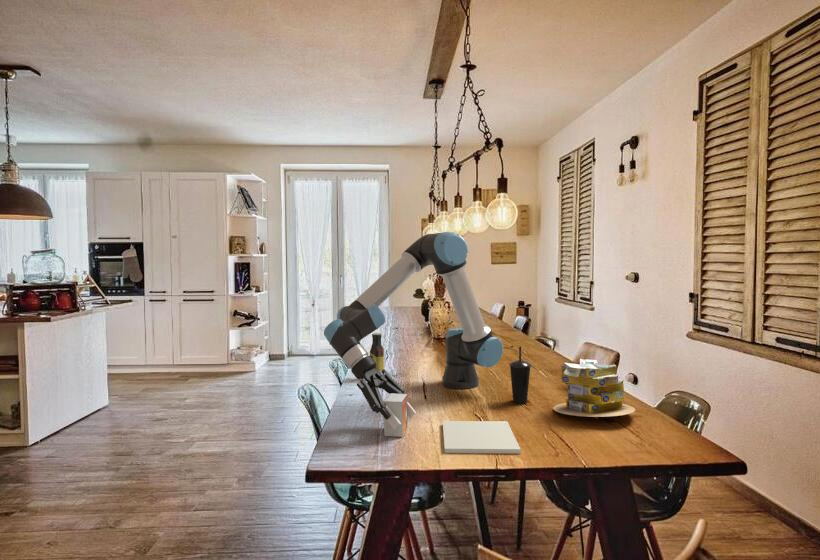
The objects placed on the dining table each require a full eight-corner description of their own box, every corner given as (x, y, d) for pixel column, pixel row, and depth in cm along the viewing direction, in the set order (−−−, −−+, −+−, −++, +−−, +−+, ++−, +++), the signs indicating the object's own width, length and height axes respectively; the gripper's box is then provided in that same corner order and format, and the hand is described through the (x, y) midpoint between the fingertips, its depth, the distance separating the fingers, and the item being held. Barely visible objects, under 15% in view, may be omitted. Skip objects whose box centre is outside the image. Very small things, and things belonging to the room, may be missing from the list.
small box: (402, 437, 129) (402, 402, 128) (383, 436, 130) (383, 400, 129) (408, 427, 136) (407, 393, 136) (390, 426, 138) (390, 392, 137)
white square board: (442, 424, 138) (442, 421, 138) (507, 425, 137) (507, 421, 137) (444, 452, 118) (444, 448, 118) (520, 453, 117) (520, 449, 117)
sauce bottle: (370, 377, 195) (369, 332, 194) (384, 376, 195) (383, 331, 194) (369, 381, 188) (369, 334, 187) (384, 380, 189) (384, 334, 188)
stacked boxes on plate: (539, 405, 156) (539, 358, 155) (601, 399, 161) (601, 353, 160) (582, 431, 132) (582, 376, 131) (653, 423, 137) (653, 370, 136)
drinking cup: (532, 399, 161) (532, 345, 160) (529, 406, 154) (529, 349, 153) (511, 397, 164) (511, 343, 163) (507, 403, 158) (507, 347, 157)
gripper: (371, 362, 149) (414, 416, 142) (331, 378, 130) (378, 441, 123) (385, 348, 146) (429, 402, 140) (346, 362, 127) (395, 426, 121)
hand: (405, 420), depth 131 cm, fingers closed on small box, 9 cm apart
